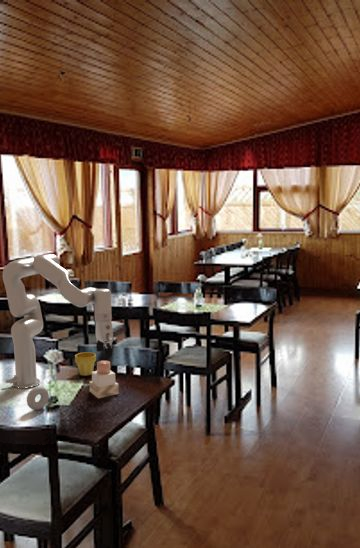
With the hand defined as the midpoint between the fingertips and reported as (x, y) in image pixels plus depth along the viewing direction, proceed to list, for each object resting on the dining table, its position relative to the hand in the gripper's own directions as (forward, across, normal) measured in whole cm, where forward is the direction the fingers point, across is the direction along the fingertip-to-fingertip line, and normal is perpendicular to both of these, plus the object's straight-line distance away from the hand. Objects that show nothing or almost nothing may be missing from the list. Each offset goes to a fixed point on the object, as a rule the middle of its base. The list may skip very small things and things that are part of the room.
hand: (104, 353), depth 248 cm
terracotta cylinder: (+8, 0, +1) cm, 9 cm away
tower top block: (+14, -1, +1) cm, 14 cm away
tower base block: (+18, 0, +1) cm, 19 cm away
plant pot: (+18, +30, -2) cm, 35 cm away
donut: (+18, -4, +32) cm, 37 cm away
